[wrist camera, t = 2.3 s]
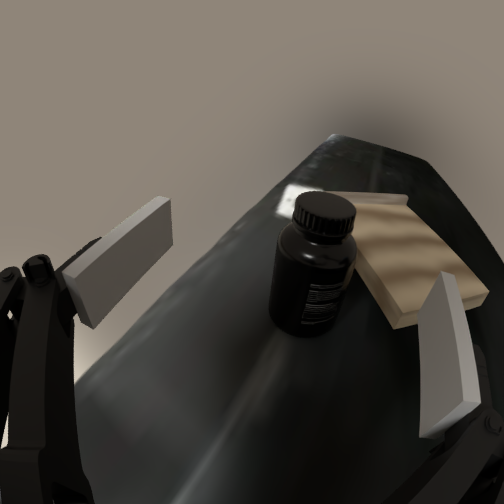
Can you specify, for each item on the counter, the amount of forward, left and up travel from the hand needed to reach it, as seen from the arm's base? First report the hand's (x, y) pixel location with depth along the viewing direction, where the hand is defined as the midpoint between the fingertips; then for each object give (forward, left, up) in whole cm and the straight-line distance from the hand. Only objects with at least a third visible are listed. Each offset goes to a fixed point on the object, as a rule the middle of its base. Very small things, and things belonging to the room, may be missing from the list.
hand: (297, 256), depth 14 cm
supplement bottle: (+9, -6, -14) cm, 17 cm away
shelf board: (+16, -23, -14) cm, 31 cm away
